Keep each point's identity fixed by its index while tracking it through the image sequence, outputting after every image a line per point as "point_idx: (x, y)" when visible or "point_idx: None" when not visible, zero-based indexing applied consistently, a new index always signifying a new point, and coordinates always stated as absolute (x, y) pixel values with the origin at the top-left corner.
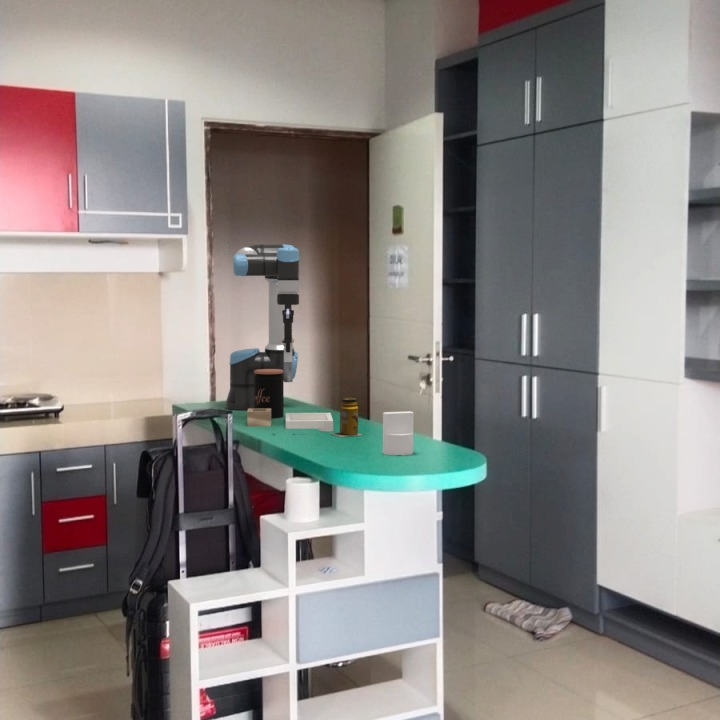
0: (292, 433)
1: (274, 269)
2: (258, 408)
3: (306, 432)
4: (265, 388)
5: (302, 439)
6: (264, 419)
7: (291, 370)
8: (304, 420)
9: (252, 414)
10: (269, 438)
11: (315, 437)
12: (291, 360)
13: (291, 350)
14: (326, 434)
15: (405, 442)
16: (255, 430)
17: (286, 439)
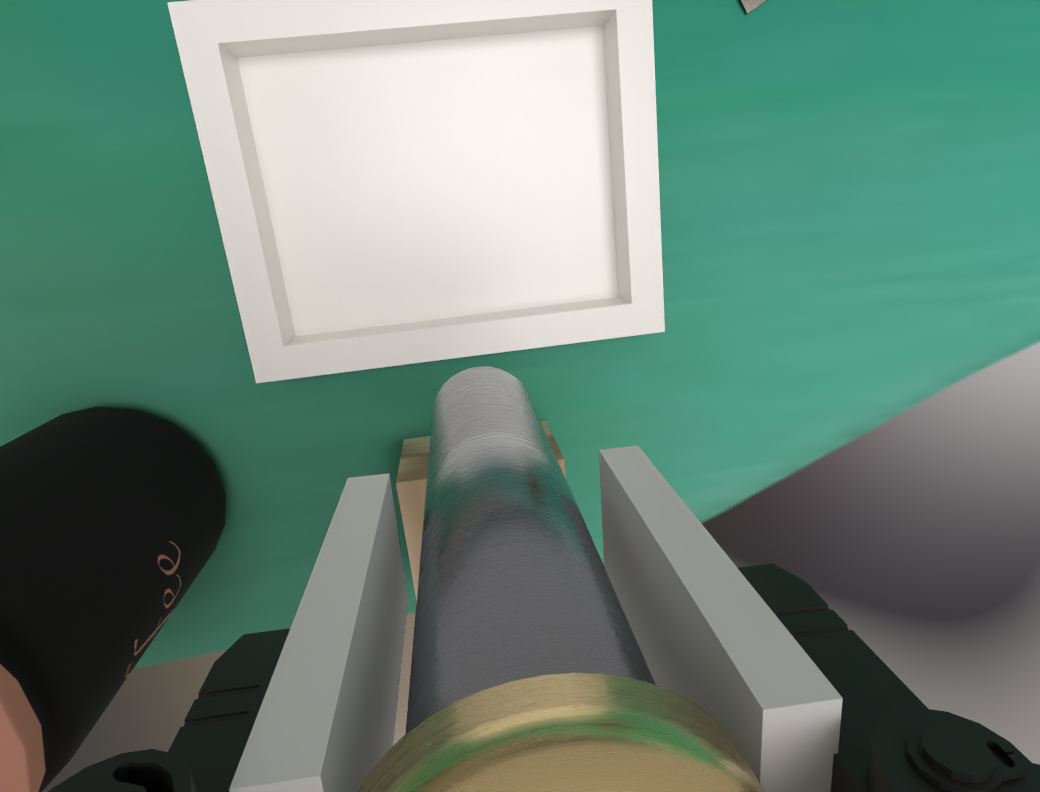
0: (708, 271)
1: None
2: (410, 565)
3: (672, 185)
4: (130, 635)
5: (921, 189)
6: None
7: (528, 416)
8: (628, 202)
9: None
10: (867, 379)
11: (861, 111)
12: (645, 464)
13: (726, 564)
14: (755, 39)
15: None
16: (599, 495)
17: (909, 283)
